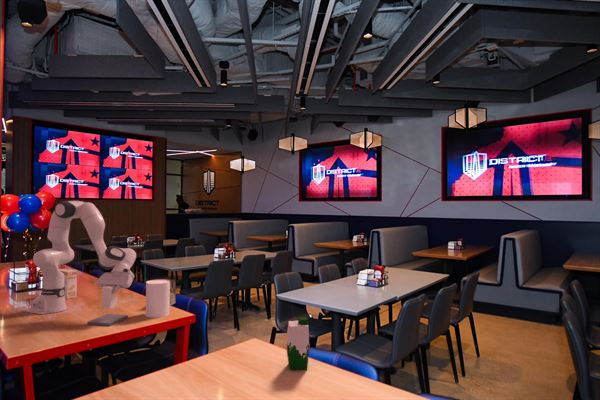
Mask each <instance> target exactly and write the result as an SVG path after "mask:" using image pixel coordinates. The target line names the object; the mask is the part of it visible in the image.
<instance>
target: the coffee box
mask: <svg viewBox="0 0 600 400" xmlns="http://www.w3.org/2000/svg"><path fill="white" fill-rule="evenodd" d="M168 280H169V281H170V305H169V307H171V306H173V305H174V304H176V282H177V281H176V279H168Z"/></svg>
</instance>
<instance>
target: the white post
mask: <svg viewBox="0 0 600 400" xmlns="http://www.w3.org/2000/svg"><path fill="white" fill-rule="evenodd" d="M115 288H116V286H105V287H101V309H104V310H105V309H106V310H107V309H108V310H109V309H110V310H111V309H113V308H115V307H116V303H117V300H116V299H117V298H116V297H117V292H116V293H115V294H113V293H112V290H114V289H115ZM116 308H117V307H116Z"/></svg>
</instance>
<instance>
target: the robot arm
mask: <svg viewBox="0 0 600 400" xmlns="http://www.w3.org/2000/svg"><path fill="white" fill-rule="evenodd" d="M73 219H80V220H81V222H82V224H83V227H84V228H85V229H86V232H87V235H88V236H89V239H90V241H91V243H92V246H93V249H94V251H95V253H96V255H97V263H98V266H99V267H100V268H101V269H103V270H108V271H106V272H104V273H102V274H101V275H100V277H99V278H98V279H97V281H96V284H97V286H98V287H101V288H102V287H105V286H116V288H115V289H114V290H112V293H113V294H115V293H116V294H117V292H118V291H120V289H122V288H123V289H128V288H130V286H131V285H132V283H133V281H134V278H135V274H134V273H133V272H132V271H131V268H132V267H133V265H134V263H135V261H136V259H137V252H136V251H135V250H134V249H132V248H130V247H127V248H123V247H122V248H121V247H119V246H116V245H112V246H111V245H110V246H108V247H107V245H106V244H105V241H104V232H105V228H106V223H105V219H104V218H103V215H102V213H101V212H100V210H99V209H98V208H97V207H96V205H95V204H93V203H92V202H89V201H88V202H87V201H83V200H81V201H80V200H61V201H58V202H57V203H56V204H55V206H54V210H53V212H52V214H51V218H50V220H49V225H48V231H47V239H48V241H50V242H51V244H52V248H44V249H41V250H39V251H37V252H35V253H34V255H33V256H32V257H33V258H32V261H33V263H34V265H35V266H36V267H38V268H39V270H40V271H41V275H42V277H43V284H42V285H43V288H41V289H40V294H39V295H38V296H37V297H36V298H34V299H33V300H31V303H30V308H27V309H26V310H25V313H31V314H36V315H37V314H38V315H45V314H53V313H59V312H64V311H66V310H67V308H68V307H67V303H66V299H65V295H64V294H65V286H64V274H63V273H62V272H60V271H59V265H65V264H68V263H70V262H72V261H73V260H74V258H75V251H74V250H73V249H72V248H71V246H70V244H69V235H70V228H71V222H72V220H73ZM110 270H111V271H110Z"/></svg>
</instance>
